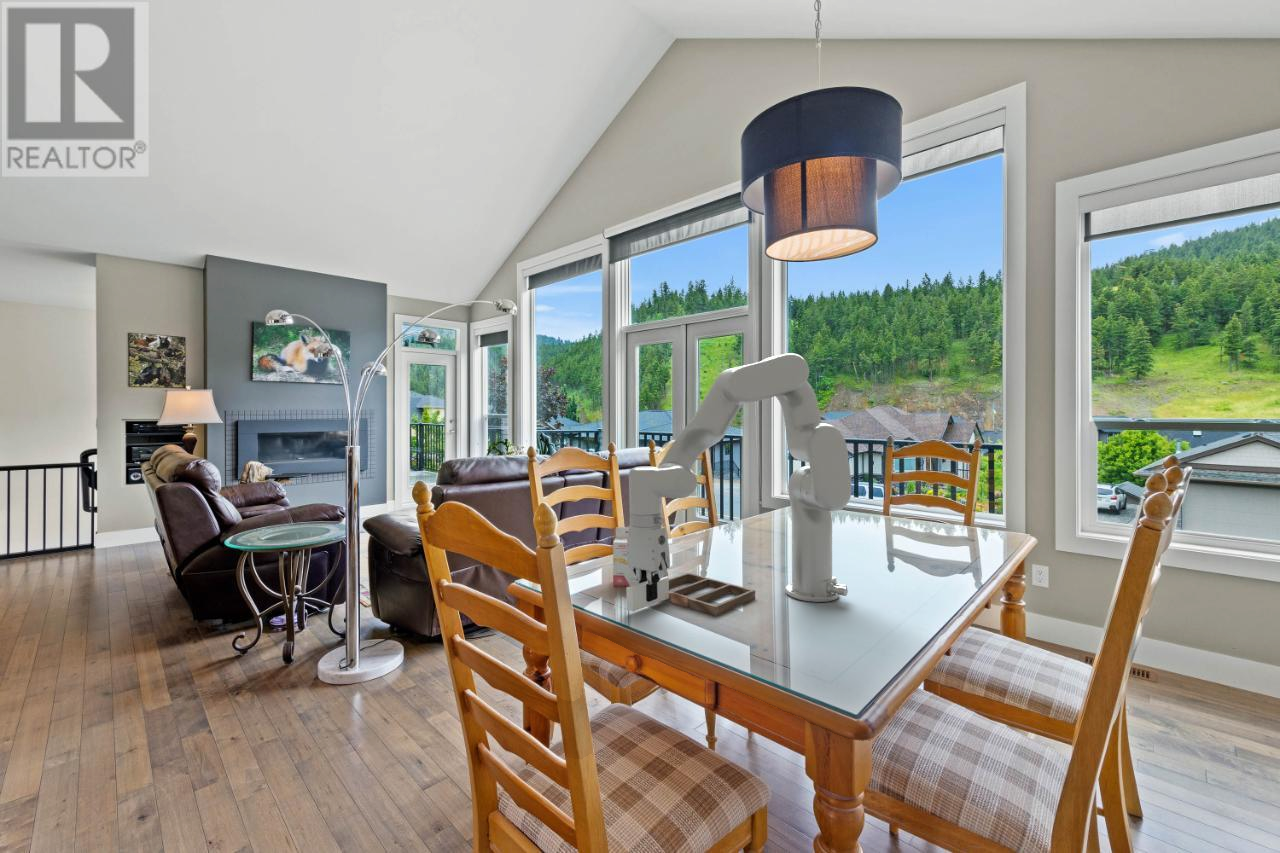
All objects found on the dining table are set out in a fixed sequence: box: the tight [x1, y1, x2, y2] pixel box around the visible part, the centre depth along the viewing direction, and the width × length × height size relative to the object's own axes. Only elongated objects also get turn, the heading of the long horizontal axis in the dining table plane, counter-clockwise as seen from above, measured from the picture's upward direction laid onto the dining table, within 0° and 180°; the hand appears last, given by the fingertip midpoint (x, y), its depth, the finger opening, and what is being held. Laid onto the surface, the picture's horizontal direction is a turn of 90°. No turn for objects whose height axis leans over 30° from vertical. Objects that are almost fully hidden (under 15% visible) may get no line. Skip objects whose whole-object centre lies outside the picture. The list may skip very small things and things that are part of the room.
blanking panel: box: [625, 576, 670, 613], centre depth 128 cm, size 2×12×5 cm, turn 135°
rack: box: [664, 572, 756, 617], centre depth 135 cm, size 21×16×2 cm
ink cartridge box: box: [612, 526, 639, 587], centre depth 146 cm, size 9×5×15 cm, turn 84°
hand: (648, 598), depth 128 cm, fingers closed on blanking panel, 1 cm apart
